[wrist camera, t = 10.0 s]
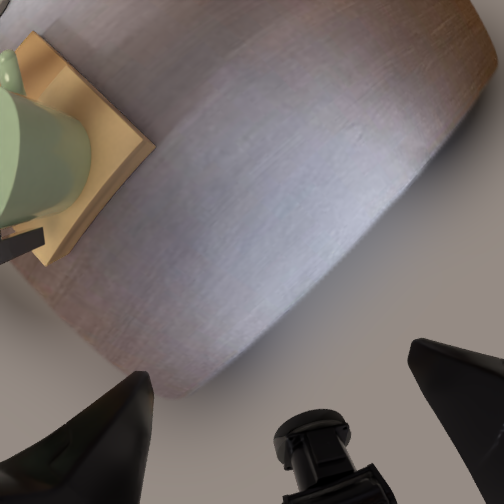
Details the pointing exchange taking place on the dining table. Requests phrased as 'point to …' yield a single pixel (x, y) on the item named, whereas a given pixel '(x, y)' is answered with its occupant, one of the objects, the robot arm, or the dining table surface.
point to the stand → (100, 135)
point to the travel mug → (3, 5)
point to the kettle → (35, 161)
